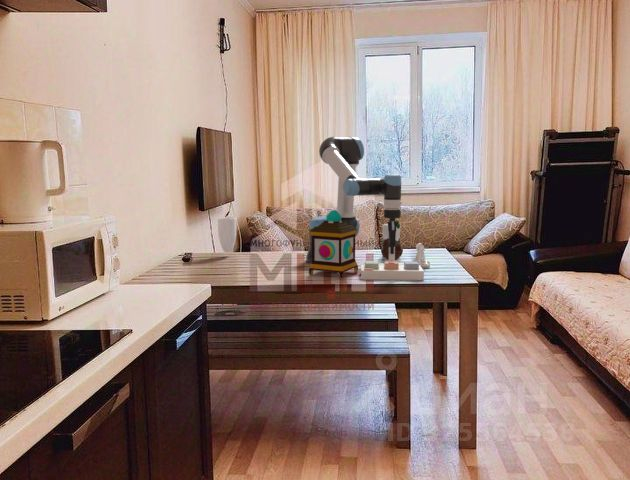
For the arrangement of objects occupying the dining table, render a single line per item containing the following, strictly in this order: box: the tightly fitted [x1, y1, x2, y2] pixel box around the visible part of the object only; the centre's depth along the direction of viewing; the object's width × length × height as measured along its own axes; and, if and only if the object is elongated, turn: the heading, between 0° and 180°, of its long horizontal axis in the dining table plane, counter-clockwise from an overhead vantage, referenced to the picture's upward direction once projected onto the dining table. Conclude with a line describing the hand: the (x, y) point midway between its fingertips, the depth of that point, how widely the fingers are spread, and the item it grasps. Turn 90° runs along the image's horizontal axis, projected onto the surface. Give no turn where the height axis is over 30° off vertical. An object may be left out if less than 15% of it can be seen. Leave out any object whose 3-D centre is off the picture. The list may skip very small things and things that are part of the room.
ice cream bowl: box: [380, 238, 404, 261], centre depth 277 cm, size 11×11×15 cm
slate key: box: [403, 260, 419, 269], centre depth 259 cm, size 6×6×4 cm
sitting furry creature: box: [412, 242, 431, 269], centre depth 283 cm, size 10×9×12 cm
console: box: [360, 264, 425, 281], centre depth 259 cm, size 28×14×5 cm, turn 86°
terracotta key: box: [383, 260, 400, 269], centre depth 259 cm, size 6×6×4 cm
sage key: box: [364, 260, 380, 269], centre depth 260 cm, size 6×6×4 cm
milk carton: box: [381, 220, 402, 258], centre depth 310 cm, size 9×9×20 cm
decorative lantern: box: [308, 209, 359, 279], centre depth 264 cm, size 20×20×30 cm
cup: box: [217, 216, 237, 253], centre depth 313 cm, size 10×10×22 cm
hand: (391, 260), depth 259 cm, fingers closed
